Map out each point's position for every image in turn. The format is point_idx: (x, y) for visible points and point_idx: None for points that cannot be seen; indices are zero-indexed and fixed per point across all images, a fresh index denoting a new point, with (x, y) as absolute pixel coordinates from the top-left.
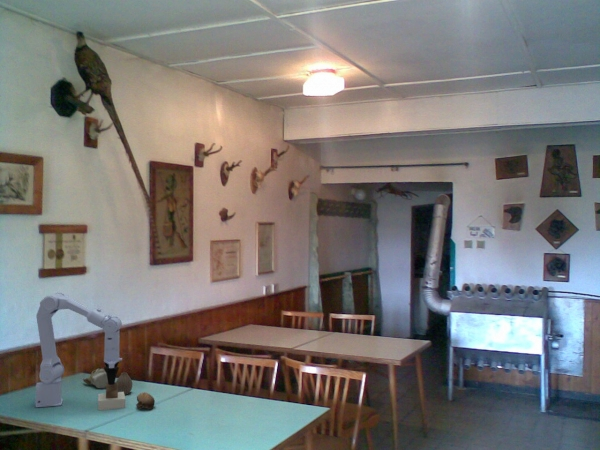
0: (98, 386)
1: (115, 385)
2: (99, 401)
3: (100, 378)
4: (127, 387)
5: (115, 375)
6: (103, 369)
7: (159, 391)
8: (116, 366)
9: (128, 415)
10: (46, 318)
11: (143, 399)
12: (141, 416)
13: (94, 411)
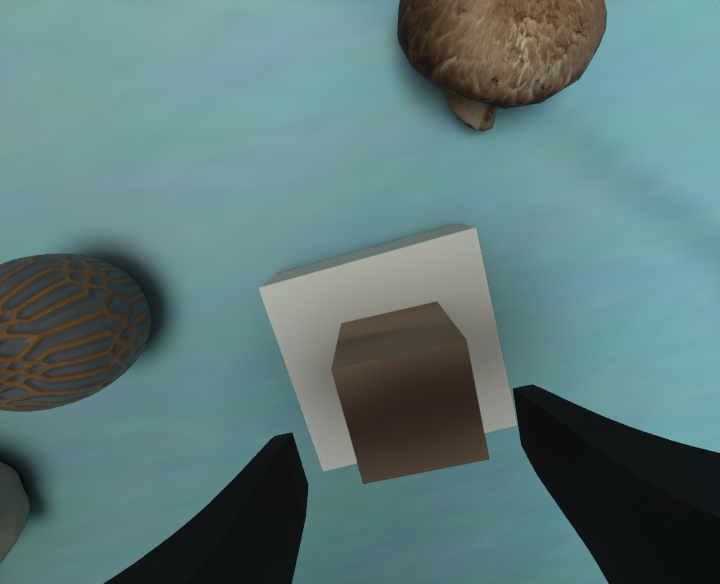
0: (22, 508)
1: (471, 365)
2: (514, 418)
3: None
4: (113, 285)
5: (654, 441)
6: None
7: (7, 11)
8: (214, 567)
9: (638, 160)
10: None
11: (600, 12)
12: (684, 47)
13: None
